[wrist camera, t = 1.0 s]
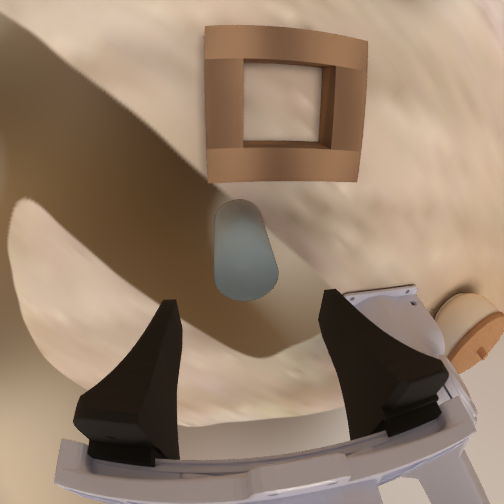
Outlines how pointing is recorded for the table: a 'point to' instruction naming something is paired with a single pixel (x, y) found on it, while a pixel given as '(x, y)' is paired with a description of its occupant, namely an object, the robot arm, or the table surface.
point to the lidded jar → (469, 329)
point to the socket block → (284, 152)
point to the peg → (242, 252)
